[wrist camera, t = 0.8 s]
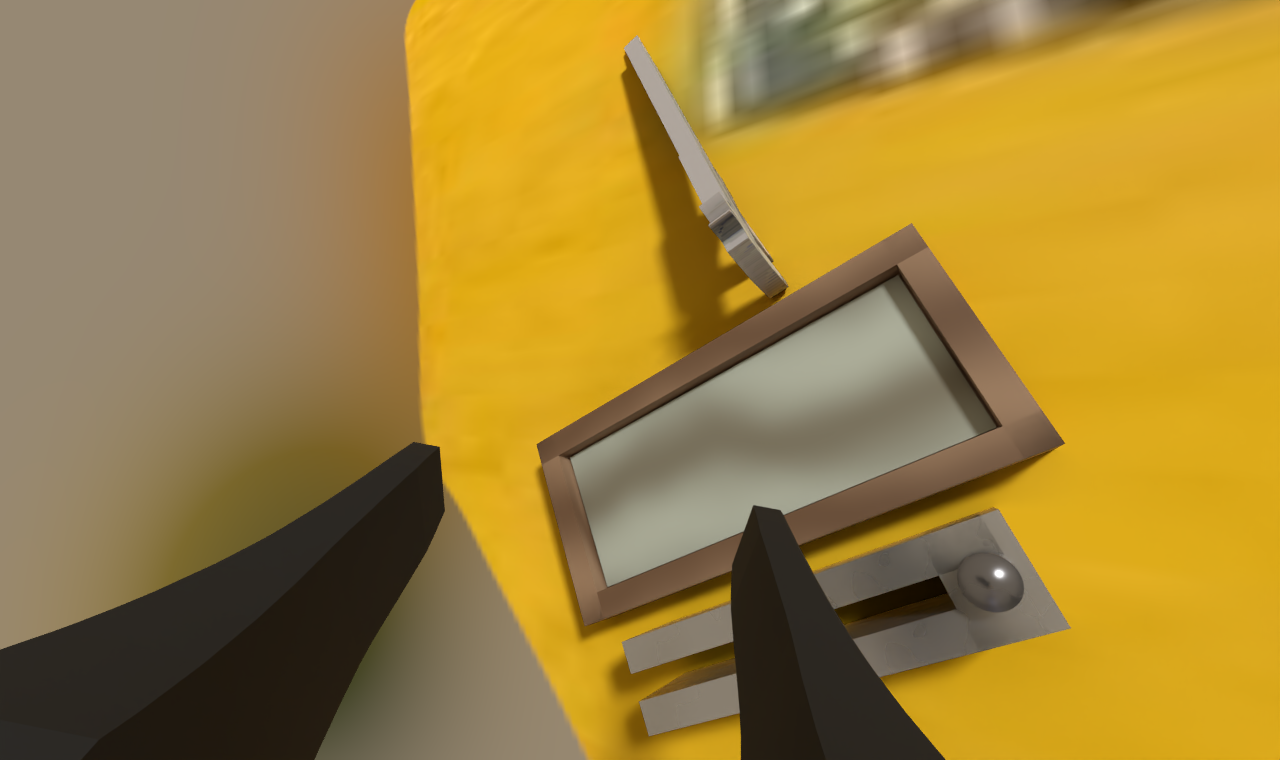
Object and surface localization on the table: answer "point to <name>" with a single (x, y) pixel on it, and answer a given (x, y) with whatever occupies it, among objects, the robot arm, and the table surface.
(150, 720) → the robot arm
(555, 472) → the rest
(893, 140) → the table surface
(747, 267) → the caliper
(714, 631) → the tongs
